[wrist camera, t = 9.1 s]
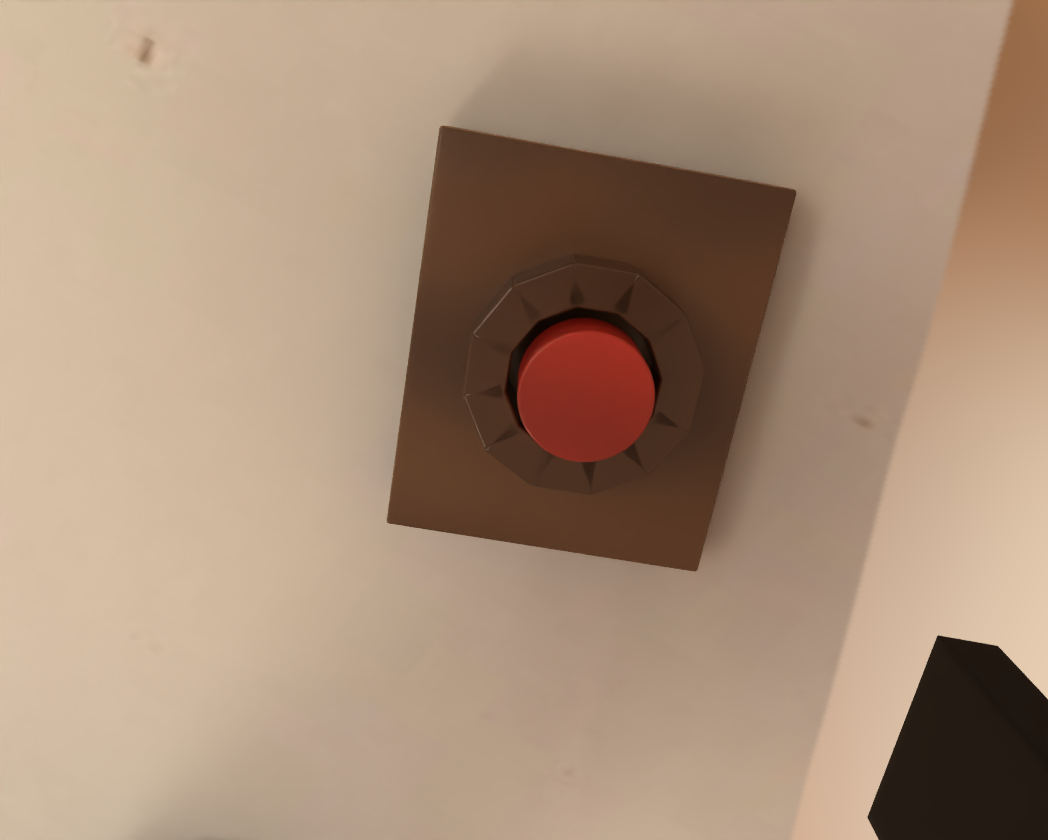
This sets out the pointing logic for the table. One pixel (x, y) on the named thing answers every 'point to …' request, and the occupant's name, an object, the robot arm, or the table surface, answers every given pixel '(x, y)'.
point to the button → (584, 390)
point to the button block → (566, 293)
